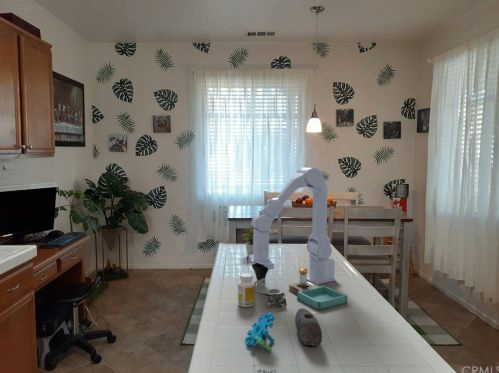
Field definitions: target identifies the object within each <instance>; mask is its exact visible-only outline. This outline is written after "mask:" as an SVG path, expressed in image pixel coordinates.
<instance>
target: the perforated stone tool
mask: <svg viewBox="0 0 499 373" xmlns="http://www.w3.org/2000/svg"><path fill="white" fill-rule="evenodd" d="M294 316H295V317H294V318H295V319H294V323H295V328H296V332H297V333H298V335H299V337H300V339H301V341H302V342H303V343H304V345H305V346H310V347H311V346H313V347H317V346H319V345H321V343H322V342H323V341H322V340H323V332H322V328H321V326H320V323H319V320H318V319H317V317H316V316H315V315H314V314H313V313H312V312H310V310H308V309H306V308H302V307H301V308H300V309H297V311H296V313H295V315H294Z"/></svg>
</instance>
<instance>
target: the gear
mask: <svg viewBox="0 0 499 373" xmlns="http://www.w3.org/2000/svg"><path fill="white" fill-rule="evenodd" d="M275 319H276V317H275V315H274V313H272V312H271V311H269V312H265V313H263V315H262V316H261V315H260V316H259V317H257V323H256V322H253V324H251V327H252V329H248V331H247V332H246V334H247V335H246V337H245V339H244V341H245V344H246V345H247V347H250V346H252V347H254V346H256V344H257V343H258V344H259V346H260V347H261V348H265V349H267V351H268V352H269V353H272V352H273V349H272V348H271V347H270V346H269V345H268V344H267V342H268V341H269V342H270V343H271V344H274V343H275V339H274V338H273V336H272V335H270V334H269V333H270V331H269V330H268V328H271V329H272V327H273V326H274V322H273V321H275Z"/></svg>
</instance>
